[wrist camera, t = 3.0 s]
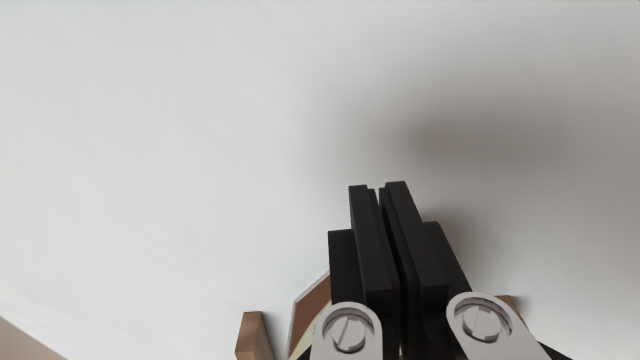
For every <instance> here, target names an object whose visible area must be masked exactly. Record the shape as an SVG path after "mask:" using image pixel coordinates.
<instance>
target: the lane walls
mask: <svg viewBox="0 0 640 360" xmlns="http://www.w3.org/2000/svg"><path fill="white" fill-rule="evenodd" d="M497 298H498V299H500V300H501V301H503V302H504V303H506V304H507V305H508V306H509V307H510V308H511V309H512V310H513V311H514V312H515V313H516V315H517V316H518V317H519V318H520V320H521V321H522V322H523V324H524V325H525V326H526V324H525V322H524V321H523V319H522V317H521V316H520V314H519V312H518V310H517V309H516V307H515V305H514V303H513V302H512V300H511V298H510V297H509V296H497ZM526 327H527V326H526ZM527 329H528V328H527ZM528 330H529V329H528ZM235 355H236V358H237V360H274V357H273V353H272V350H271V347H270V343H269V340H268V336H267V333H266V329H265V326H264V323H263V319H262V316H261V312H247V313H244V314H243V318H242V322H241V327H240V331H239V335H238V339H237V344H236V348H235Z"/></svg>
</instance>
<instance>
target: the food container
mask: <svg viewBox="0 0 640 360" xmlns="http://www.w3.org/2000/svg"><path fill="white" fill-rule="evenodd" d="M330 306H332V304H331V285H330V269H329V270H328V271H327V272H326V273H325V274H324V275H323V276H321V277H320V278H319V279H318V280H317V281H316V282H315V283H314V284H312V285H311V286H310V287H309V288H308V289H307V290H306V291H304V292H303V293H302V294H301V295H300V296H299V297H298V298H296V299H295V300H294V304H293V310H292V316H291V323H290V329H289V336H288V342H287V349H286V355H285V360H296V359H297V358H298V357H299V356H300V355H301V354H302V353H303V352H304V351H305V350H306V349H307V348H308V347H309V346H310V345H311V344H312V342H313V336H314V330H315V326H316V323H317V320H318V318H319V317H320V315H321V314H322V313H323V311H325V310H326V309H328V308H329V307H330ZM399 360H403V357H402V353H401V348H400V358H399Z"/></svg>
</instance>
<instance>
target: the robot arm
mask: <svg viewBox="0 0 640 360" xmlns="http://www.w3.org/2000/svg"><path fill="white" fill-rule="evenodd" d="M349 202H350V215H351V229H345V230H334V231H328V246H329V266H330V285H331V304H332V306H330V307H329V308H328V309H326V310H325V311H323V313H322V314H321V315H320V317H319V318H318V320H317V323H316V326H315V330H314V336H313V342H312V344H311V345H310V346H309V347H308V348H307V349H306V350H305V351H304V352H303V353H302V354H301V355H300V356H299V357H298V358H297V359H296V360H399V358H400V348H401V353H402V357H403V360H572V359H570V358H569V357H567V356H565V355H563V354H561V353H559V352H557V351H555V350H554V349H552V348H550V347H548V346H546V345H544V344H542V343H540V342H539V341H537V340H536V339H535V338H534V336H533V335H532V334H531V333H530V331H529V330H528V329H527V327H526V326H525V325H524V324H523V322H522V321H521V320H520V318H519V317H518V316H517V315H516V313H515V312H514V311H513V310H512V309H511V308H510V307H509V306H508V305H507V304H506V303H504V302H503V301H501V300H500V299H498V298H497V297H494V296H491V295H489V294H486V293H481V292H473V291H472V289H471V287H470V285H469V283H468V281H467V279H466V277H465V275H464V273H463V271H462V269H461V267H460V265H459V263H458V261H457V259H456V257H455V255H454V253H453V251H452V249H451V247H450V245H449V243H448V241H447V239H446V237H445V235H444V233H443V231H442V229H441V227H440V225H439V223H438V222H436V221H433V222H422V220H421V217H420V215H419V213H418V210H417V208H416V206H415V204H414V201H413V199H412V197H411V194H410V192H409V190H408V187H407V185H406V183H405V181H397V182H387V183H386V184H385V187H384V188H379V204H378V201H377V197H376V194H375V190H374V189H368V188H367V185H356V186H349Z"/></svg>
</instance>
